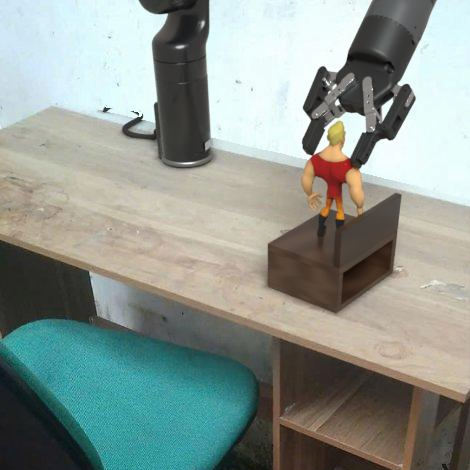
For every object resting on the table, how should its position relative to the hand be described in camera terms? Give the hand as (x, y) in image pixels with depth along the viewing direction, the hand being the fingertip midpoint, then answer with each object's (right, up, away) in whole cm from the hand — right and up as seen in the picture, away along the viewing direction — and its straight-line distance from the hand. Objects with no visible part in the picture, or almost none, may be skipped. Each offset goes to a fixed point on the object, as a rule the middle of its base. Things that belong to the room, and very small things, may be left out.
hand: (330, 158), depth 101 cm
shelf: (+2, -12, +13) cm, 18 cm away
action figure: (+1, -7, +9) cm, 11 cm away
